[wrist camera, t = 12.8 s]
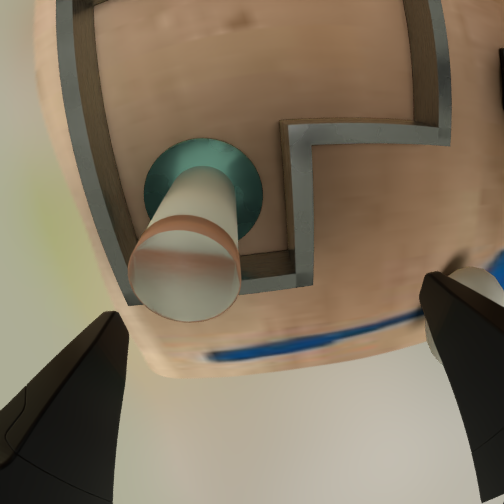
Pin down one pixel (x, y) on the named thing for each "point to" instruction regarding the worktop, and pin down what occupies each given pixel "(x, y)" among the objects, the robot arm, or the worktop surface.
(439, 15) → the channel
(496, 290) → the donut
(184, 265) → the peg
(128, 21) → the worktop surface
